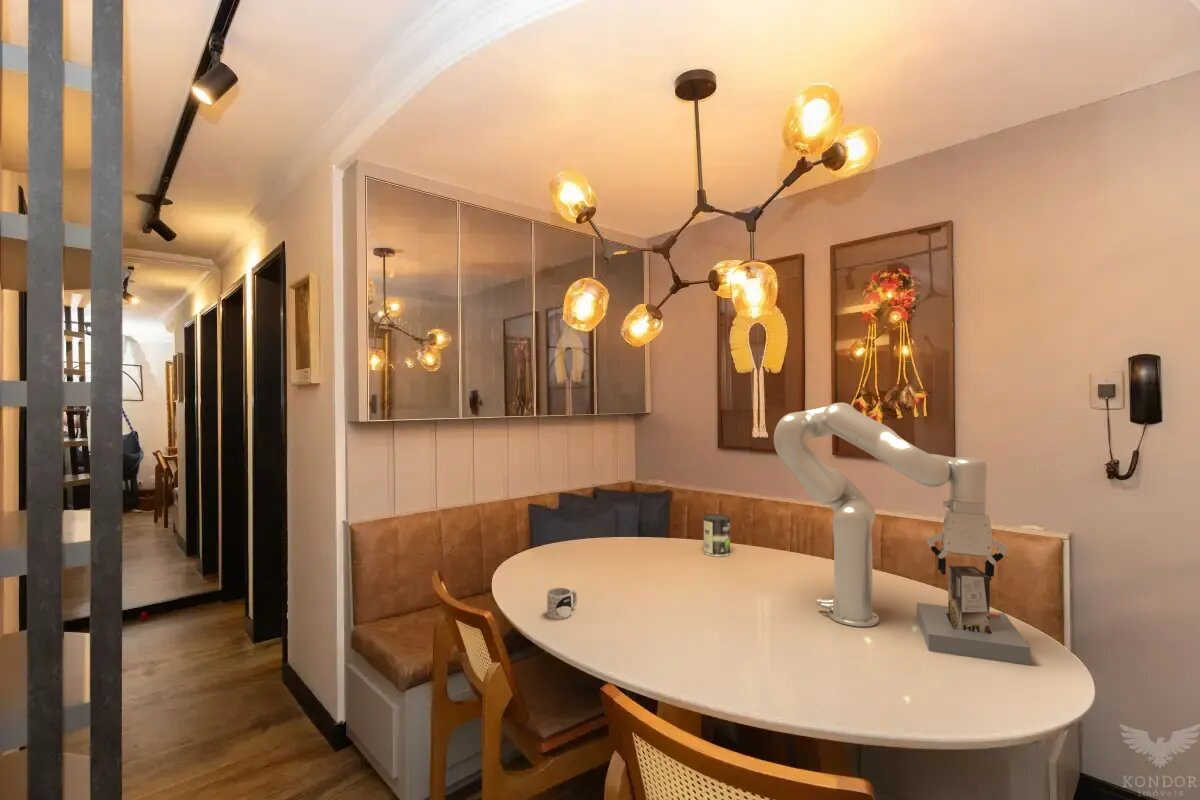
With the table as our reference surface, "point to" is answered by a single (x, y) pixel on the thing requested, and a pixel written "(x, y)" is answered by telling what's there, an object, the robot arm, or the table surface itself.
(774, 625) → the table surface
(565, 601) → the mug
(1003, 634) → the socket
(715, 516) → the coffee can
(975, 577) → the coffee box
